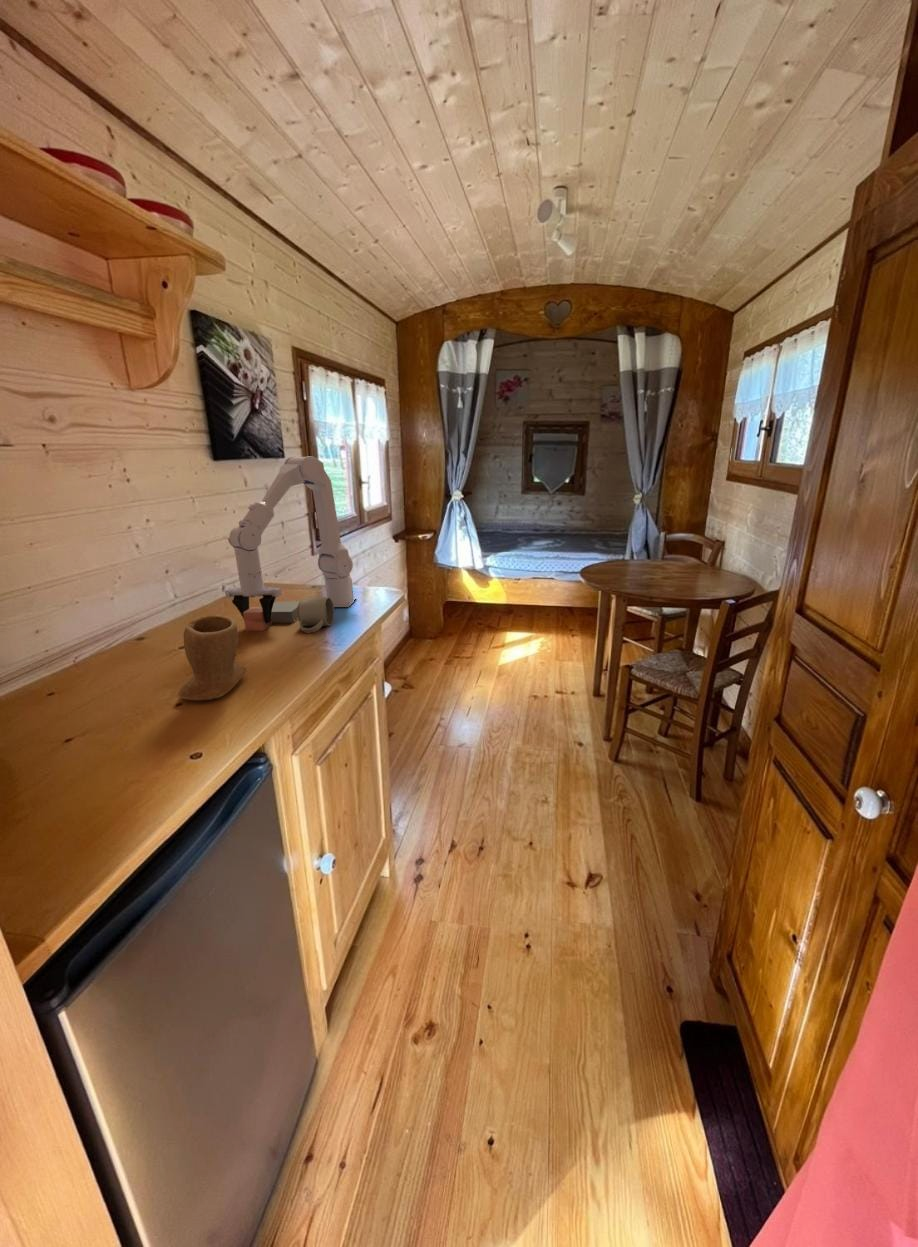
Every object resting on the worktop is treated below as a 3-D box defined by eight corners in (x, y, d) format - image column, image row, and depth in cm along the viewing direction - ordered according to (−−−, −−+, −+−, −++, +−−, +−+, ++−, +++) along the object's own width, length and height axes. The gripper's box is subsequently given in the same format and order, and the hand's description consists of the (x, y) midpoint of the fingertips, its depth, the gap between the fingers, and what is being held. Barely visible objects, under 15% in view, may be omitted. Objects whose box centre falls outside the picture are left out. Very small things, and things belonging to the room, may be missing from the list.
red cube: (254, 624, 149) (251, 607, 147) (271, 624, 149) (269, 606, 147) (245, 630, 144) (242, 612, 143) (263, 630, 144) (261, 612, 142)
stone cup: (232, 705, 102) (218, 629, 98) (171, 705, 103) (154, 631, 98) (263, 672, 117) (252, 605, 112) (209, 673, 117) (195, 607, 112)
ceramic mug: (307, 620, 151) (303, 594, 148) (336, 620, 150) (333, 593, 147) (293, 634, 141) (289, 606, 138) (324, 634, 140) (320, 605, 137)
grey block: (273, 613, 160) (271, 602, 159) (306, 613, 159) (304, 601, 158) (258, 624, 151) (256, 612, 149) (293, 623, 150) (291, 611, 148)
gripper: (215, 576, 139) (224, 627, 143) (270, 576, 137) (278, 626, 142) (229, 570, 145) (237, 618, 150) (281, 569, 144) (288, 618, 148)
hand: (258, 622), depth 146 cm, fingers closed on red cube, 5 cm apart
